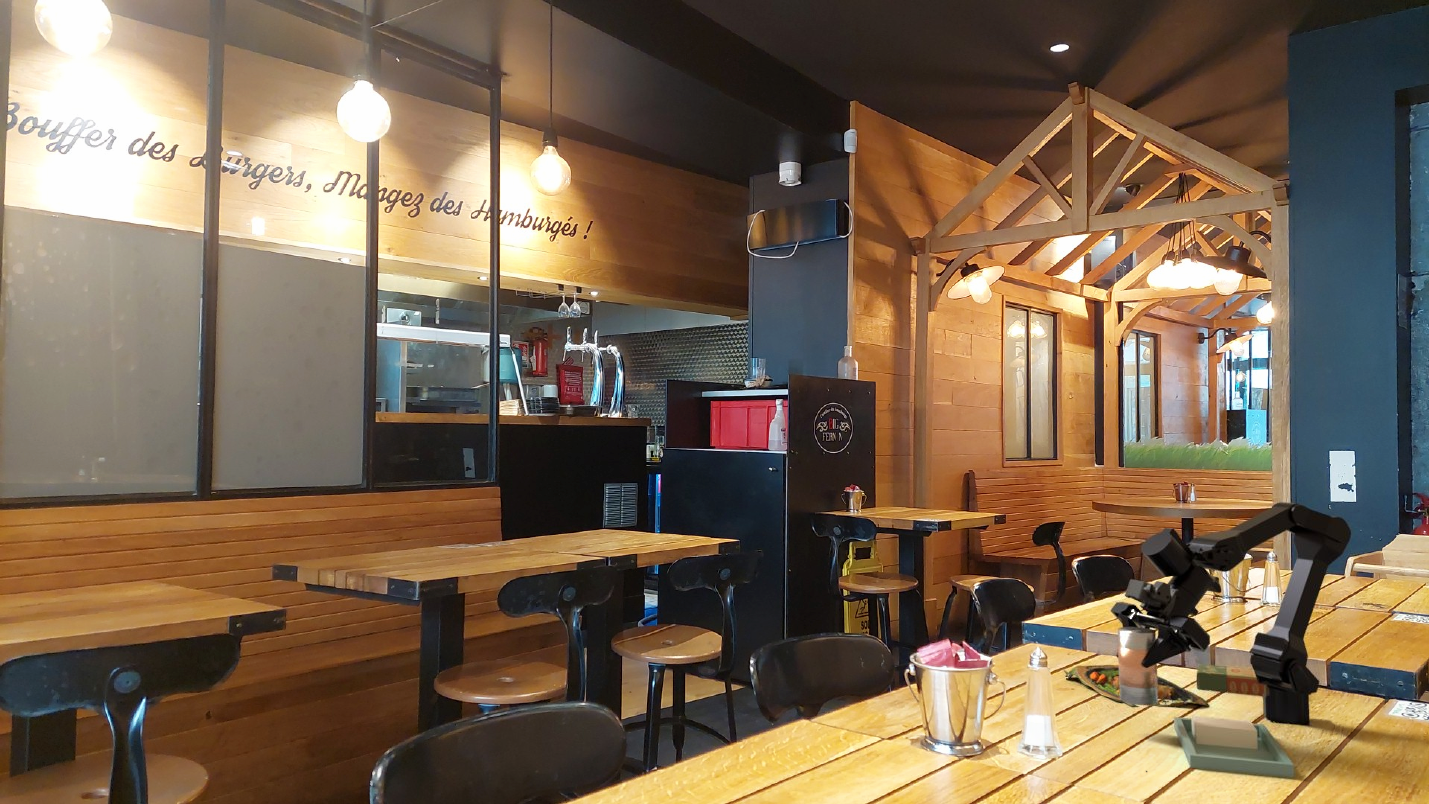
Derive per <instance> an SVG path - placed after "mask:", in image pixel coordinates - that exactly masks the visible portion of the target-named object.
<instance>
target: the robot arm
mask: <svg viewBox="0 0 1429 804" xmlns="http://www.w3.org/2000/svg"><path fill="white" fill-rule="evenodd" d="M1286 531H1287V532H1289V533H1291V534H1293V545H1294V547H1295V552H1296V555H1297V556H1296V560H1295V563H1294V566H1293V568H1292V572H1291V575H1290V578H1289V581H1288V584H1287V587H1286V590H1285V592H1284V595H1283V598H1282V601H1281V603H1280V606H1279V609H1278V613H1277V615H1276V619H1275V621H1274V624H1273V626H1272V628H1271V629H1270V630H1269V631H1267V632H1266V633H1263V632H1257V633H1256V635H1255V636H1254V642H1253V645H1252V647H1251V649H1249V654H1250V659H1249V661H1250V662H1249V663H1250V665H1251V667H1252V668H1253V670H1254V672H1255V675H1256V678H1257V681H1258V683H1260V684H1265V685H1266V693H1263V696H1262V709H1263V711H1262V712H1263V716H1264V717H1265V719H1266V720H1268V721H1270V723H1272V724H1280V725H1281V724H1283V725H1292V726H1305V727H1313V724H1312V723H1311V721H1310V720H1311V719H1310V695H1312V694H1316V693H1317V692H1318V689H1319V686H1320V685H1319V684H1320V680H1319V679H1318V678H1317V677H1316V676H1315V675H1314V674H1313V672H1312V671H1311V670H1310V669H1309V668H1308V667H1307V663H1308V658H1309V654H1308V650H1307V647H1306V643H1305V640H1304V638H1305V635H1306V632H1307V628H1308V627H1309V623H1310V620H1311V618H1312V615H1313V611H1314V608H1315V606H1316V603H1317V600H1318V597H1319V593H1320V591H1321V588H1322V586H1323V582H1324V579H1325V578H1326V577H1325V576H1326V573H1327V570H1328V568H1329V566H1330V565H1331V564H1333V562H1335V561H1336V560H1337V559H1338V558H1340V557H1341V556H1342V555H1343V553H1344V552H1345V549H1346V548H1347V547H1348V545H1349V542H1350V539H1351V536H1352V529H1350V527H1349V525H1348V523H1347V521H1346V520H1345V519H1344V518H1342V517H1340V516H1334V515H1329V514H1325V513H1324V512H1323V513H1322V512H1320V511H1317V510H1313V509H1311V508H1308V507H1307V506H1304V505H1302V504H1300V503H1297V502H1296V503H1295V502H1283V501H1280V502H1277V503H1274V504H1273V505H1272V506H1271V507H1270V508H1268V509H1266V510H1264V511H1262V512H1260V513H1258V514H1256V515H1254V516H1253V517H1250V518H1249V519H1247V520H1244V521H1243V522H1241V523H1239V524H1237V525H1235V526H1234V527H1232V528H1230V529H1226V530H1223V531H1222V530H1221V531H1217V532H1210V533H1206V534H1202V535H1199V536H1196V537H1194V538H1192V539H1191V541H1190V542H1189V543H1186V542H1185V541H1184V540H1183V539H1182V538H1181V537H1180V534H1179V533H1178V532H1177V531H1176V530H1175V529H1174V528H1170V527H1164V528H1163V529H1162V531H1160V532H1157V533H1155V534H1153V535H1152V536H1150V537H1149V538H1146V539H1145V540H1144V542H1143V543H1142V545H1141V547H1140V548H1141V549H1140V550H1141V553H1142V554H1143V555H1144V557H1146V558H1147V559H1148V561H1149V562H1150V563H1151V564H1152V565H1153V566H1154V567H1155V569H1156V570H1157V571H1158V572H1159V573H1160V574H1161V575H1162V576H1164V577H1171V578H1170V580H1169V581H1168V583H1166V582H1164V581H1158V580H1157V581H1156V582H1154V583H1150V582H1146V581H1144V580H1143V581H1141V580H1137V579H1132V578H1131V579H1130V580H1129V582H1128V586H1127V587H1126V591H1125V593H1124V597H1125V598H1128V599H1133V600H1135V601H1136V602H1139V603H1140V605H1139V607H1141V609H1142V610H1143V611H1144V612H1146V614H1144V613H1143V612H1142V611H1141V609H1139V607H1138V606H1137V605H1136V604H1133V603H1128V602H1124V601H1118V602H1117V601H1116V602H1115V604H1114V605H1113V606H1112V607H1111V609H1110V612H1111V613H1112V615H1114V616H1115V617H1116V618H1117V620H1118V622H1120V623H1121V625H1122V627H1141V628H1148V629H1153V630H1157V637H1156V640H1155V642H1154V644H1153V645H1152V647H1151V648H1150V650H1149V651H1148V653H1147V654H1146V656H1145V658H1144V660H1143V662H1142V665H1143V666H1144V667H1145V668H1148V667H1151V666H1153V665H1155V664H1157V665H1158V664H1159V663H1161V662H1163V661H1165V660H1168V659H1170V658H1173V657H1176V656H1178V655H1181V654H1183V653H1187V652H1188V653H1190V652H1191V651H1192V650H1194V651H1195V650H1196V651H1198V652H1199V651H1200V652H1203V653H1205V652H1206V650H1207V649H1208V647H1209V646H1210V644H1211V636H1210V634H1209V633H1208V632H1207V631H1206V629H1204V628H1203V627H1202V625H1201V624H1200V623H1199V622H1198V620H1196V619H1195V618H1194V617H1196V616H1197V615H1198V614H1199V613H1200V612H1199V610H1198V609H1197V608H1196V607H1197V606H1198V604H1199V603H1200V601H1201V600H1202V599H1203V598H1204V596H1205V595H1206V594H1207V592H1211V593H1216V594H1221V593H1222V586H1221V584H1220V578H1219V577H1218V576H1214V575H1211V573H1210V572H1209V571H1208V570H1211V571H1216V572H1223V573H1227V572H1230V571H1232V570H1233V569H1234V568H1236V567H1237V566H1238V565H1239V564H1240V563H1242V562H1243V561H1245V558H1246V556H1247V553H1248V552H1250V551H1251V550H1252V549H1255V547H1258V546H1260V545H1261V544H1264V543H1265V542H1267V541H1269V540H1271V539H1273V538H1275V537H1277V536H1278V535H1280V534H1282V533H1285V532H1286ZM1189 616H1193V617H1189ZM1115 657H1116V658H1117V659H1118V649H1117V651H1116V655H1115Z"/></svg>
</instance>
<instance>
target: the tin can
mask: <svg viewBox="0 0 1429 804" xmlns="http://www.w3.org/2000/svg"><path fill="white" fill-rule="evenodd" d="M1156 635H1157V633H1156V629H1153V628H1150V629H1148V628H1141V627H1123V626H1122V627H1119V628H1117V644H1118V645H1117V650H1118V658H1117V659H1118V665H1119V685H1120V700H1121V701H1123V702H1122V703H1124V702H1126V703H1130V704H1137V705H1136V706H1147V705H1153V704H1157V703H1158V702H1159V699H1158V691H1157V686H1158V682H1157V676H1158V663H1157V664H1155V665H1153V666H1151V667H1148V668H1145V667H1144V666H1143V665H1142V662H1143V660H1144V658H1145V656H1146V654H1147V653H1148V651H1149V650H1150V648H1151V647H1152V645H1153V644H1154V642H1155V640H1156V639H1157V637H1156ZM1126 703H1125V704H1126Z"/></svg>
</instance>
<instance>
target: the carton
mask: <svg viewBox="0 0 1429 804" xmlns="http://www.w3.org/2000/svg"><path fill="white" fill-rule="evenodd" d="M1197 665H1198V666H1197V671H1196V689H1197V690H1200V691H1209V690H1211V691H1210V692H1220V693H1228V694H1239V695H1249V696H1257V697H1263V693H1266V685H1265V684H1260V683H1258V681H1257V678H1256V675H1255V672H1254V670H1253V667H1252V668H1250V667H1240V666H1239V667H1238V666H1228V665H1227V666H1226V665H1215V664H1204V663H1198V664H1197Z"/></svg>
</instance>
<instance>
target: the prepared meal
mask: <svg viewBox="0 0 1429 804" xmlns="http://www.w3.org/2000/svg"><path fill="white" fill-rule="evenodd" d="M1063 672H1064V673H1065V676H1064V678H1065V677H1068V678H1066V679H1068V680H1069V678H1070V679H1071V678H1072V677H1074V676H1075V677H1076V678H1078V679H1079V681H1080V682H1081V683H1082V684H1083V685H1084V686H1088V687H1090V688H1092V689H1093V690H1094V691H1095V692H1096V693H1098V694H1099V695H1102V696H1103V697H1107V698H1110V699H1112V700H1114V701H1116V702H1118V703H1119V702H1121V704H1123V703H1125V704H1126V705H1128V706H1130V707H1132V708H1140V705H1137V704H1130V703H1126V702H1123V701H1121V700H1120V685H1119V664H1104V665H1102V664H1101V665H1100V664H1099V665H1096V664H1095V665H1076V666H1075V667H1073V668H1072V669H1071V670H1069V671H1067V670H1065V669H1063ZM1157 682H1158V686H1157V691H1158V700H1162V699H1164V700H1162V701H1161V703H1162V704H1161V703H1160V701H1158V703H1157V704H1153V705H1146V706H1148V707H1149V706H1151V707H1158V708H1173V709H1174V708H1178V707H1180V706H1183V705H1188V704H1195V705H1201V706H1207V707H1208V708H1210V705H1209V703H1208V701H1207V700H1206V699H1204V698H1203V697H1202V696H1199V695H1197V694H1195V693H1194V692H1192V691H1190V690H1187V689H1185V688H1183V687H1181V686H1180V685H1177V684H1175V683H1173V682H1172V681H1169V680H1167V679H1165V678H1163V677H1160V676H1159V675H1157ZM1170 701H1171V702H1170ZM1167 703H1169V704H1167Z"/></svg>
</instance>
